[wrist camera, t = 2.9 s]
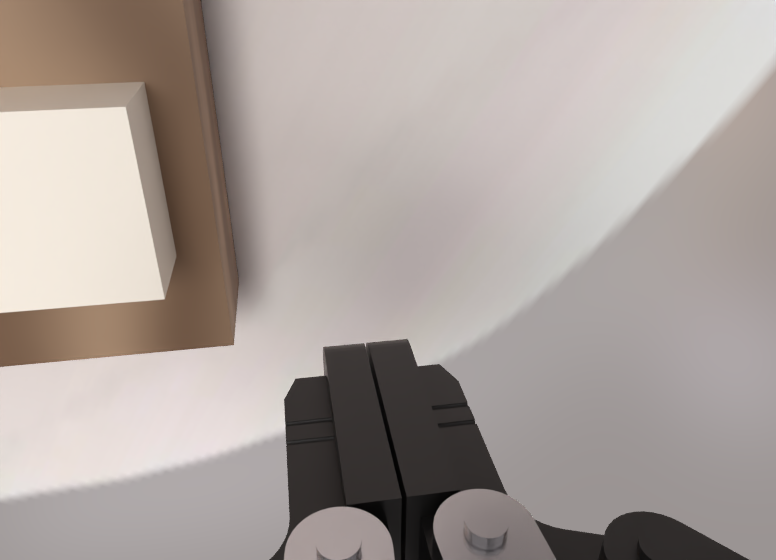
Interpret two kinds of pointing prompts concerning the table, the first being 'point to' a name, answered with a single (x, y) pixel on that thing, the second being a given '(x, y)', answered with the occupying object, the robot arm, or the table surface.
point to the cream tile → (81, 198)
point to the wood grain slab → (176, 158)
